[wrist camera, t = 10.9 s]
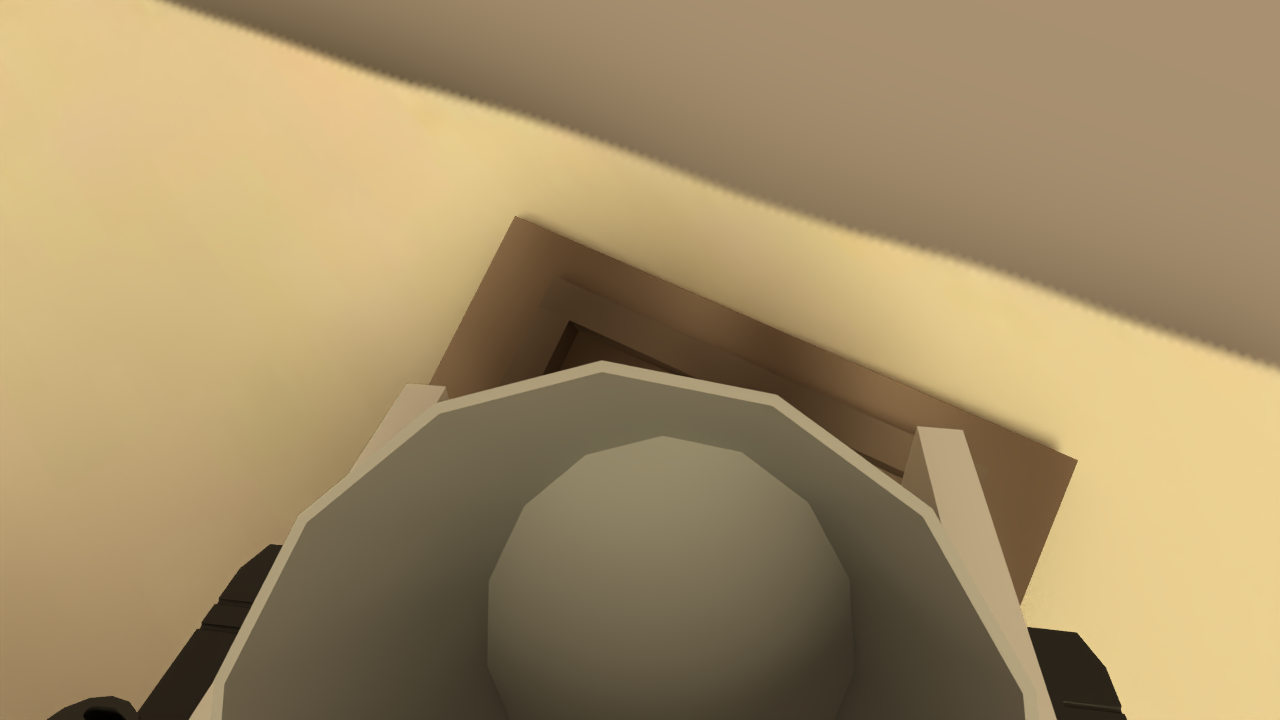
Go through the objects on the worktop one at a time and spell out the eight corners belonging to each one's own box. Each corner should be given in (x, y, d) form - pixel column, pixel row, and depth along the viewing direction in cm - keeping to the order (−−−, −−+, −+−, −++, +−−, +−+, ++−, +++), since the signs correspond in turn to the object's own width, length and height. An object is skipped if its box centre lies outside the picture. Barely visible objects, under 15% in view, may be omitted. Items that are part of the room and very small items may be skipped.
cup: (435, 529, 18) (99, 574, 8) (741, 373, 18) (773, 230, 8) (586, 887, 16) (391, 1484, 6) (925, 716, 16) (1247, 1059, 6)
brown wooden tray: (293, 683, 23) (239, 708, 21) (524, 228, 25) (502, 197, 22) (842, 1000, 20) (861, 1076, 18) (1058, 462, 22) (1105, 458, 19)
